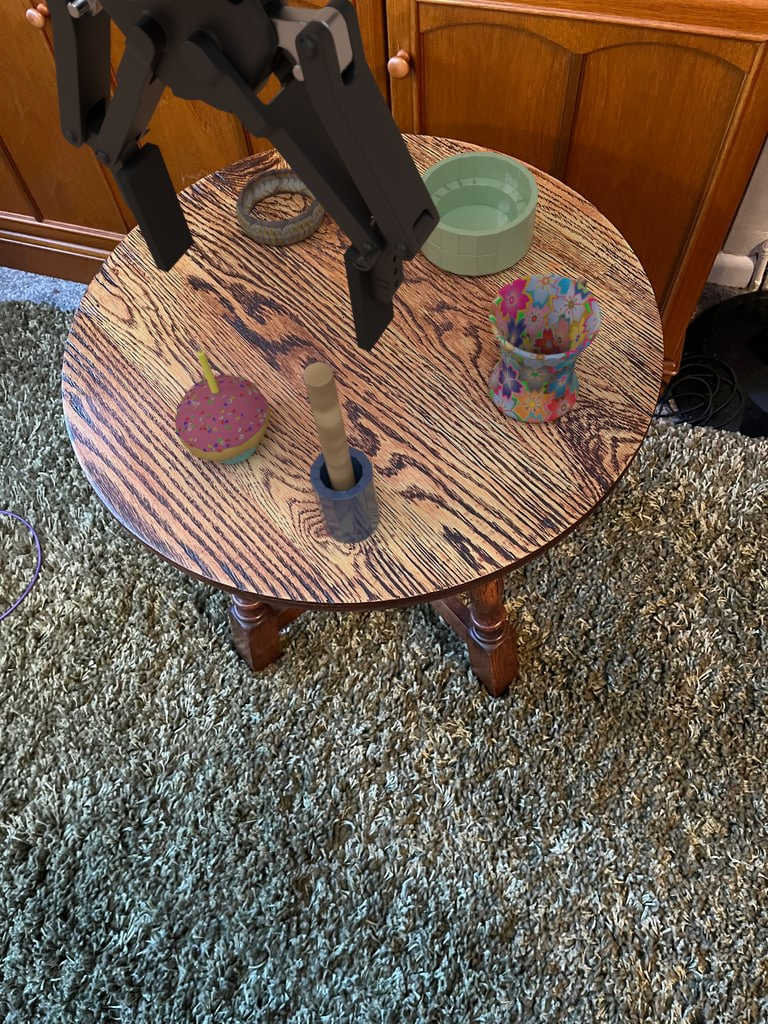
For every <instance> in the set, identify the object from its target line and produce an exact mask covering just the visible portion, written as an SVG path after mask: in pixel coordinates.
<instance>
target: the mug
mask: <svg viewBox="0 0 768 1024" xmlns="http://www.w3.org/2000/svg"><path fill="white" fill-rule="evenodd" d="M587 286H588V280H587V279H586V278H585V277H582V276H579V277H577V278H576V279H571V278H569V277H567V276H562V275H557V274H553V273H552V274H551V273H538V274H537V273H536V274H531V275H526V276H522V277H519V278H516V279H515V280H512V281H510V282H509V283H507V284H506V285H504V286H503V287H502V288H501V289H500V290H499V291H498V292H497V293H496V294H495V296H494V297H493V299H492V301H491V303H490V306H489V309H488V310H489V311H488V322H489V327H490V329H491V331H492V334H493V336H494V337H495V339H496V340H497V342H498V345H499V349H500V357H499V361H497V363H496V364H495V365H494V366H493V368H492V370H491V372H490V374H489V377H488V384H487V386H488V392H489V393H488V394H489V395H490V398H491V401H492V402H493V404H494V405H495V406H496V408H498V409H499V411H501V412H502V413H504V414H505V415H506V416H507V417H510V418H511V419H514V420H516V421H521V422H524V423H529V424H530V423H531V424H532V423H533V424H534V423H535V424H539V423H540V424H541V423H547V422H551V421H554V420H557V419H558V418H561V417H562V416H564V415H565V414H566V413H568V412H569V411H570V410H571V409H572V408H573V406H574V405H575V404H576V402H577V399H578V397H579V394H580V381H579V377H578V374H577V372H576V370H575V367H576V364H577V361H578V358H579V357H580V356H581V353H582V352H583V351H585V350H586V349H587V348H588V347H589V346H590V345H591V344H592V343H593V342H594V340H595V339H596V337H597V336H598V334H599V332H600V329H601V325H602V310H601V307H600V304H599V302H598V300H597V299H596V297H595V296H594V295H593V293H592V292H591V291H590V290H589V289H588V288H587Z"/></svg>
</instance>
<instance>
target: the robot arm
mask: <svg viewBox="0 0 768 1024" xmlns="http://www.w3.org/2000/svg"><path fill="white" fill-rule="evenodd" d="M44 1H45V3H46V7H47V9H48V12H49V14H50V18H51V19H50V20H51V31H52V41H53V56H54V67H55V78H56V90H57V99H58V112H59V113H58V114H59V124H60V131H61V134H62V136H63V137H64V139H65V140H66V142H67V143H68V144H70V145H71V146H73V147H74V148H76V149H77V148H78V149H80V148H82V147H83V146H84V145H86V146H88V147H89V148H90V149H93V154H94V156H95V158H96V159H97V160H98V161H99V163H100V164H101V165H103V166H104V167H106V168H107V169H109V170H110V173H111V175H112V177H113V180H114V182H115V184H116V186H117V189H118V191H119V193H120V195H121V198H122V200H123V202H124V204H125V205H126V206H127V207H128V209H129V210H130V211H131V212H132V214H133V217H134V220H135V221H136V224H137V226H138V228H139V231H140V232H141V235H142V237H143V239H144V242H145V244H146V246H147V248H148V250H149V253H150V255H151V257H152V260H153V262H154V264H155V267H156V269H157V270H159V271H162V272H165V273H169V272H170V271H171V270H172V269H173V268H174V267H175V265H176V264H177V263H178V262H179V261H180V259H182V258H183V256H184V255H185V254H186V253H187V252H188V251H189V250H190V248H192V246H193V245H194V244H195V243H196V242H195V240H194V237H193V235H192V232H191V229H190V227H189V226H190V225H189V224H188V221H187V218H186V216H185V213H184V210H183V208H182V205H181V202H180V199H179V197H178V195H177V191H176V189H175V186H174V184H173V181H172V178H171V176H170V173H169V170H168V167H167V165H166V162H165V159H164V156H163V154H162V151H161V149H160V146H159V145H158V144H155V143H152V142H148V141H146V142H145V144H144V145H143V146H142V147H141V148H140V145H139V144H138V143H139V142H140V141H141V140H142V139H144V137H145V136H146V135H147V134H148V133H149V132H150V131H151V130H152V129H151V128H150V127H149V124H150V122H151V120H152V118H153V116H154V113H155V111H156V109H157V107H158V105H159V102H160V100H161V98H162V96H163V94H164V92H165V90H166V88H169V89H170V90H171V93H172V96H173V97H176V98H179V99H182V100H184V101H201V102H203V103H205V104H207V105H209V106H211V107H212V108H214V109H216V110H218V111H220V112H225V113H228V114H231V115H233V114H234V115H235V116H236V118H237V119H238V120H239V122H240V123H241V124H242V125H243V126H244V127H245V129H246V130H247V131H248V133H250V135H252V136H253V137H254V138H257V139H266V140H267V141H268V142H269V143H270V144H271V145H272V146H273V147H274V149H275V151H277V153H278V154H279V155H280V156H281V158H282V159H283V160H284V161H285V162H286V164H287V165H288V166H289V168H290V169H292V170H293V171H294V172H295V173H296V175H297V176H298V177H299V178H300V180H301V181H302V182H303V183H304V184H305V186H306V187H307V188H308V189H309V191H310V192H311V193H312V194H313V196H314V197H315V198H316V199H317V200H318V202H319V203H320V204H321V205H322V207H323V208H324V209H325V213H327V214H328V216H330V218H331V219H332V220H333V222H334V223H335V224H336V225H337V227H338V228H339V229H340V230H341V231H342V233H343V234H344V235H345V237H346V238H347V239H348V240H349V241H350V242H351V244H350V245H349V246H348V248H347V249H346V250H345V252H344V253H343V261H344V262H343V263H344V268H345V269H344V270H345V275H346V281H347V287H348V295H349V301H350V306H351V314H352V320H353V326H354V333H355V340H356V347H357V348H358V349H361V350H363V351H366V352H368V353H371V351H372V350H373V348H374V347H375V346H376V344H377V342H378V341H379V340H380V339H381V337H382V336H383V334H384V333H385V332H386V330H387V328H388V327H389V325H390V324H391V322H393V320H394V318H395V311H394V298H393V297H394V296H395V295H396V293H397V292H398V290H399V289H400V287H401V285H402V284H403V282H404V280H405V276H404V275H405V274H404V265H403V264H404V263H403V262H411V261H413V260H414V259H415V258H416V256H417V254H419V252H420V251H421V247H422V246H423V245H424V243H425V242H426V240H427V239H428V238H429V236H430V235H431V233H432V232H433V231H434V229H435V228H436V226H437V225H438V223H439V222H440V216H439V213H438V211H437V209H436V207H435V205H434V202H433V200H432V198H431V196H430V194H429V192H428V190H427V188H426V186H425V184H424V181H423V179H422V175H421V173H420V171H419V169H418V167H417V165H416V163H415V161H414V159H413V156H412V154H411V152H410V149H409V147H408V146H407V143H406V141H405V140H404V138H403V136H402V133H401V131H400V128H399V127H398V124H397V123H396V121H395V118H394V116H393V114H392V111H391V110H390V107H389V106H388V103H387V101H386V99H385V98H384V96H383V95H384V94H383V93H382V91H381V89H380V87H379V84H378V83H377V81H376V78H375V76H374V75H373V72H372V70H371V68H370V66H369V64H368V62H367V59H366V54H365V53H366V52H365V48H364V43H363V39H362V37H363V36H362V34H361V33H362V32H361V27H360V21H359V17H358V13H357V9H356V7H355V5H354V4H353V3H352V1H351V0H329V1H328V2H327V3H326V4H325V5H324V6H323V7H322V8H320V9H317V8H309V7H299V6H292V5H291V6H290V5H289V3H288V1H287V0H44ZM112 22H113V23H114V25H115V26H116V27H117V28H118V30H119V31H120V32H121V33H122V35H123V36H124V37H125V41H124V46H125V48H124V51H123V53H122V56H121V59H120V62H119V64H118V67H117V70H116V72H115V75H114V76H115V77H114V79H115V80H116V81H117V83H116V86H115V89H114V91H113V95H112V47H111V46H112ZM272 75H274V76H275V77H276V78H277V80H278V82H279V84H280V85H279V86H280V89H279V90H278V91H277V93H276V94H274V96H273V97H272V98H271V99H270V100H269V102H267V103H264V102H263V101H262V100H261V99H260V98H259V96H258V95H259V94H260V93H261V92H262V91H263V89H264V88H265V87H266V86H267V84H268V82H269V81H270V78H271V77H272Z"/></svg>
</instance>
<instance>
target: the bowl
mask: <svg viewBox="0 0 768 1024" xmlns="http://www.w3.org/2000/svg"><path fill="white" fill-rule="evenodd" d="M421 177H422V179H423V181H424V184H425V186H426V188H427V190H428V192H429V194H430V196H431V198H432V200H433V202H434V205H435V207H436V209H437V211H438V213H439V216H440V222H439V223H438V225H437V226H436V228H435V229H434V231H433V232H432V233H431V235H430V236H429V238H428V239H427V240H426V242H425V243H424V245H423V246H422V247H421V249H420V251H421V253H422V254H424V257H425V258H426V259H427V260H428V261H429V262H430V263H432V264H434V266H437V267H438V268H439V269H441V270H444V271H447V272H450V273H453V274H455V275H460V276H471V277H480V276H487V275H491V274H497V273H499V272H502V271H505V270H507V269H509V268H511V267H513V266H514V265H515V264H517V263H518V262H519V261H520V260H522V259H523V258H524V257H525V256H526V255H527V252H528V251H529V249H530V248H531V246H532V244H533V238H534V230H535V225H536V224H535V222H536V215H537V207H538V200H539V191H540V190H539V187H538V183H537V180H536V178H535V175H534V174H533V173H532V172H531V171H530V170H529V169H528V167H527V165H525V164H523V163H521V162H519V161H518V160H516V159H514V158H513V157H511V156H508V155H504V154H500V153H497V152H493V151H477V150H476V151H475V150H474V151H468V152H462V153H455V154H453V155H450V156H448V157H445V158H442V159H440V160H439V161H437V162H436V163H434V164H433V165H431V166H430V167H428V168H427V169H426V170H425V172H424V173H423V174H422V175H421Z"/></svg>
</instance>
